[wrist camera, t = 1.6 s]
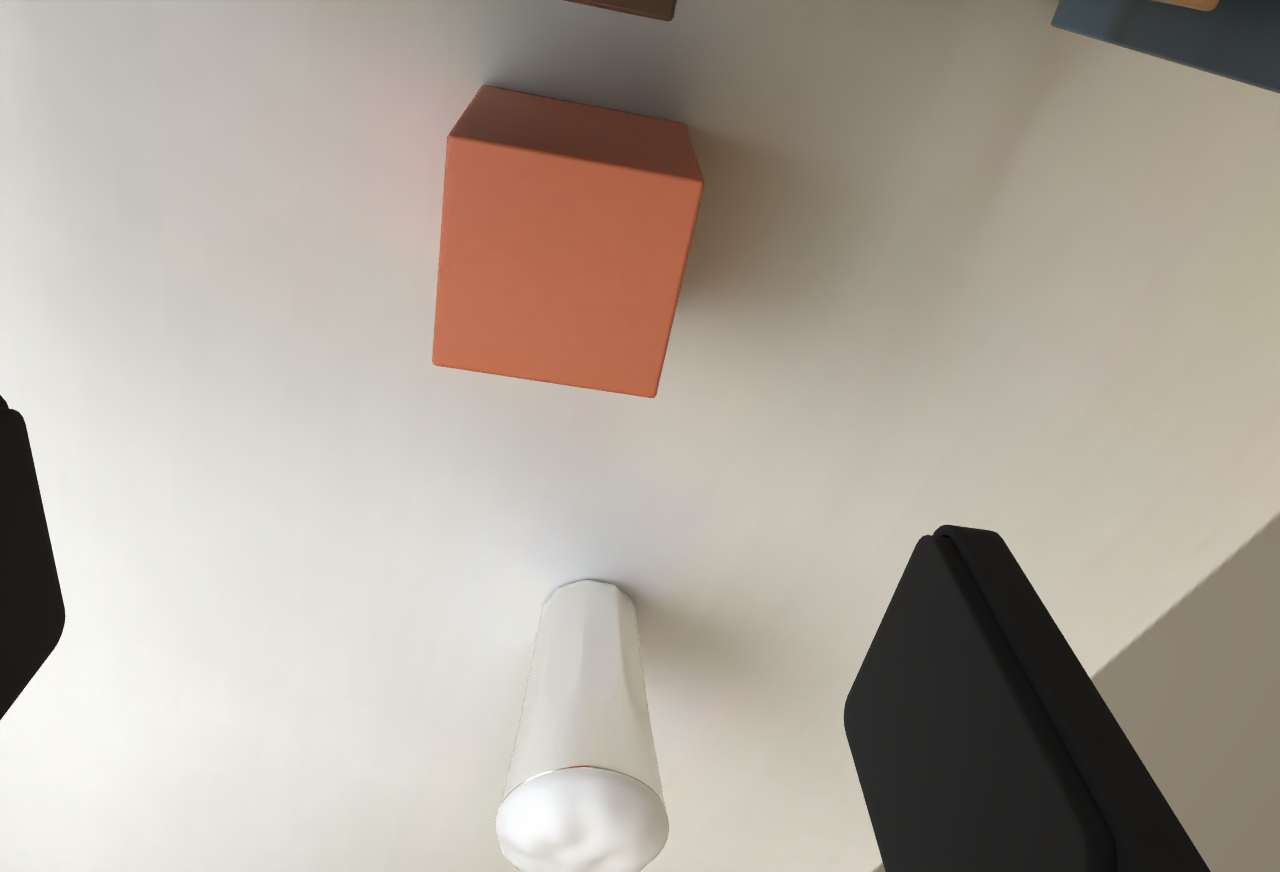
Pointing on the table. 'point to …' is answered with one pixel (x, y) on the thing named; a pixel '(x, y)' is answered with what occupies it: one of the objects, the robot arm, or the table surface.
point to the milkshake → (584, 744)
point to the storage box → (1188, 33)
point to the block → (563, 241)
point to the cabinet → (637, 7)
